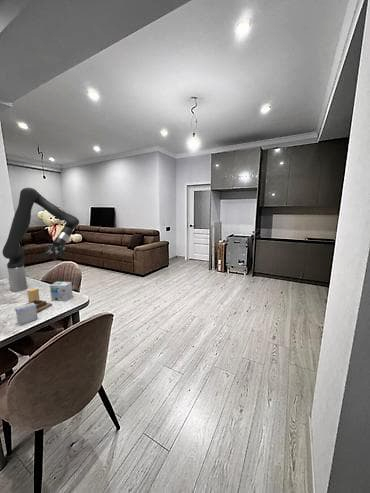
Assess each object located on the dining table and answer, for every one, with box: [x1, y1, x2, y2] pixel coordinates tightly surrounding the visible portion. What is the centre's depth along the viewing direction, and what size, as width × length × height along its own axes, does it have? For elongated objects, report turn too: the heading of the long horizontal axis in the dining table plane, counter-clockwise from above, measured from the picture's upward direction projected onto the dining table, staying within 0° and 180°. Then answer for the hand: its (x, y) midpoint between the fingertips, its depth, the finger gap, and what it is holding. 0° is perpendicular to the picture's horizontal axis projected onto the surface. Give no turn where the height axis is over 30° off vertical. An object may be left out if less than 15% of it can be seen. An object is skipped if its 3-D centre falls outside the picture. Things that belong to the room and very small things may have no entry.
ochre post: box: [26, 287, 40, 303], centre depth 127 cm, size 4×4×8 cm
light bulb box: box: [49, 281, 74, 302], centre depth 131 cm, size 11×7×11 cm, turn 88°
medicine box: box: [14, 302, 38, 326], centre depth 105 cm, size 8×4×9 cm, turn 141°
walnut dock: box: [24, 300, 53, 314], centre depth 118 cm, size 12×12×3 cm
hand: (49, 259), depth 136 cm, fingers open, 8 cm apart
